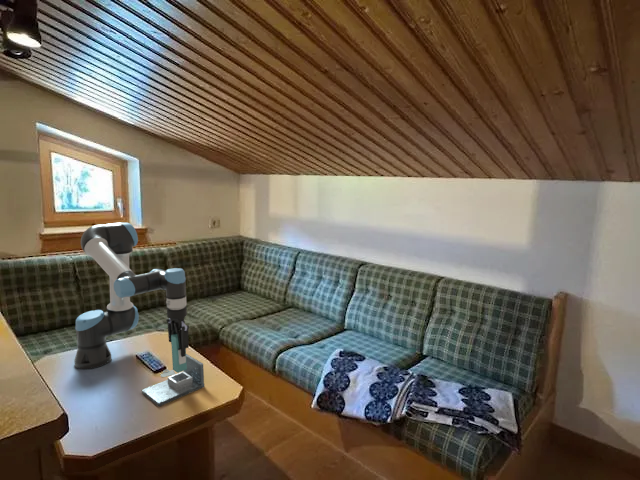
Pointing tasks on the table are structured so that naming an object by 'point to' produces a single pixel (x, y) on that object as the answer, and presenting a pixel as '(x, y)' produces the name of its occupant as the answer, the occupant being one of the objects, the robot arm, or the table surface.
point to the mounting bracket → (167, 373)
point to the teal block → (176, 355)
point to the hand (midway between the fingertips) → (179, 361)
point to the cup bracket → (177, 384)
